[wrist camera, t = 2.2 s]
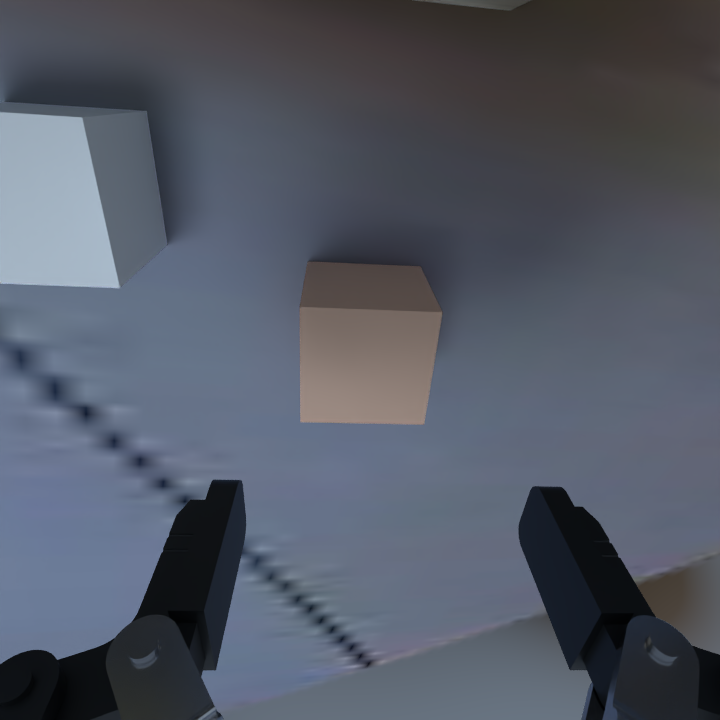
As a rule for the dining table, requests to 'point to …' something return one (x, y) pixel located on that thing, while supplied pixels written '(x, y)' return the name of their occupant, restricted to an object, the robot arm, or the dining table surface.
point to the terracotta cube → (366, 343)
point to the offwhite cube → (76, 195)
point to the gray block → (484, 3)
